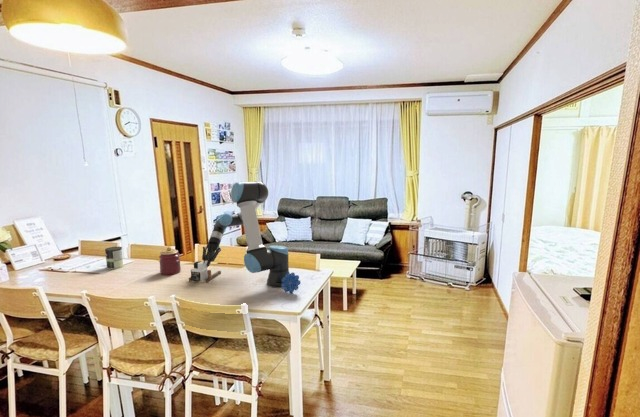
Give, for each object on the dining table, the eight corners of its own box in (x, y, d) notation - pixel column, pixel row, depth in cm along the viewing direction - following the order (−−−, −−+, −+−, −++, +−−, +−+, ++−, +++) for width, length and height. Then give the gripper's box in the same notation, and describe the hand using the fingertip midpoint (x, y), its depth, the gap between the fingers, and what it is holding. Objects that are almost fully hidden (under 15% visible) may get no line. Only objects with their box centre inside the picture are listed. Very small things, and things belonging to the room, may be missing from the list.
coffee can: (105, 270, 232) (103, 250, 230) (108, 266, 241) (106, 247, 240) (122, 268, 236) (121, 249, 235) (124, 264, 246) (122, 245, 244)
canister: (166, 276, 218) (164, 250, 215) (156, 273, 226) (154, 247, 223) (184, 271, 228) (183, 246, 226) (174, 268, 236) (173, 243, 233)
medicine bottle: (191, 281, 208) (190, 263, 206) (198, 278, 215) (197, 260, 213) (200, 283, 206) (199, 264, 204) (208, 279, 212) (207, 261, 211)
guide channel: (202, 272, 225) (202, 263, 224) (221, 273, 223) (220, 264, 222) (188, 281, 209) (187, 271, 208) (208, 282, 206) (207, 272, 205)
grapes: (303, 290, 191) (302, 270, 190) (299, 295, 185) (298, 274, 183) (284, 288, 194) (283, 269, 193) (279, 293, 188) (279, 272, 186)
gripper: (226, 242, 230) (215, 273, 216) (208, 241, 232) (197, 272, 218) (222, 236, 224) (211, 268, 210) (204, 236, 226) (192, 267, 212)
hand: (204, 270), depth 214 cm, fingers closed
